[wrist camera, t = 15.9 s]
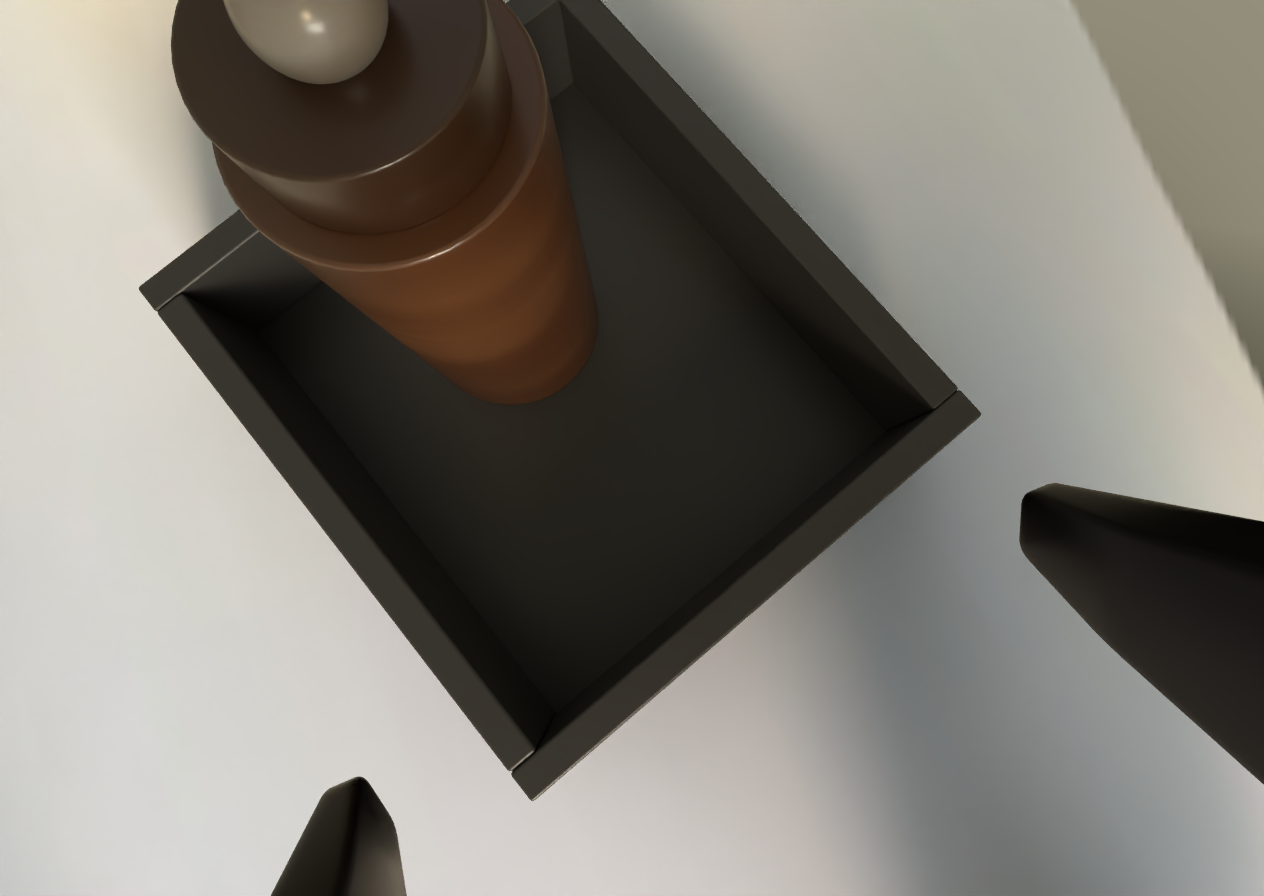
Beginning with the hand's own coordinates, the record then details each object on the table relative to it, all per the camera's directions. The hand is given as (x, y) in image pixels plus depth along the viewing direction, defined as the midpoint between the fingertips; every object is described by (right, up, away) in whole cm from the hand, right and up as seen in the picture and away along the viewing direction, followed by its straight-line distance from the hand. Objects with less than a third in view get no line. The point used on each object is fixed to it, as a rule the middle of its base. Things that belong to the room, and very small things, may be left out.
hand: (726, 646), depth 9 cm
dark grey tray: (-3, +4, +12) cm, 13 cm away
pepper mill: (-5, +6, +12) cm, 14 cm away
